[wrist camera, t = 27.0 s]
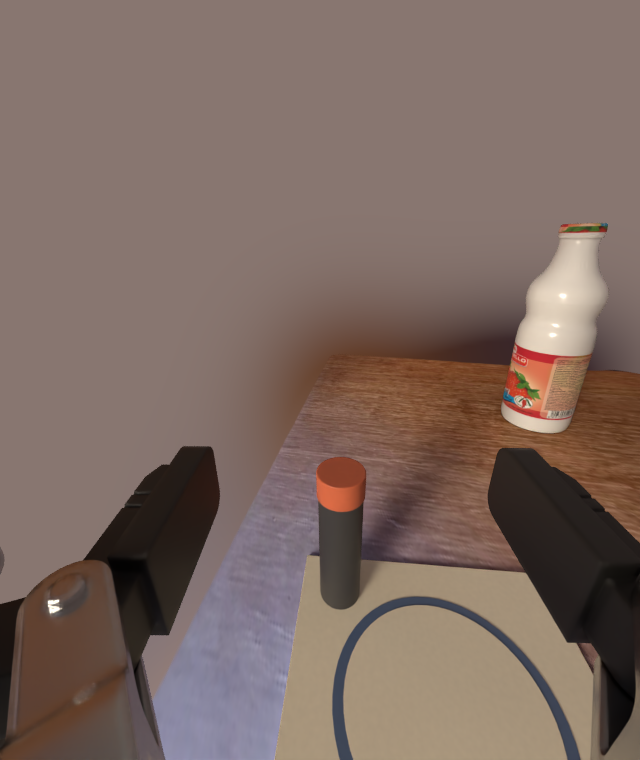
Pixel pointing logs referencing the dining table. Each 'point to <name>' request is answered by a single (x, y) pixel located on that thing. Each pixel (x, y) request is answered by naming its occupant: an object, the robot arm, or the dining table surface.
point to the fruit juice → (557, 334)
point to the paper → (433, 671)
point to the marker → (340, 529)
